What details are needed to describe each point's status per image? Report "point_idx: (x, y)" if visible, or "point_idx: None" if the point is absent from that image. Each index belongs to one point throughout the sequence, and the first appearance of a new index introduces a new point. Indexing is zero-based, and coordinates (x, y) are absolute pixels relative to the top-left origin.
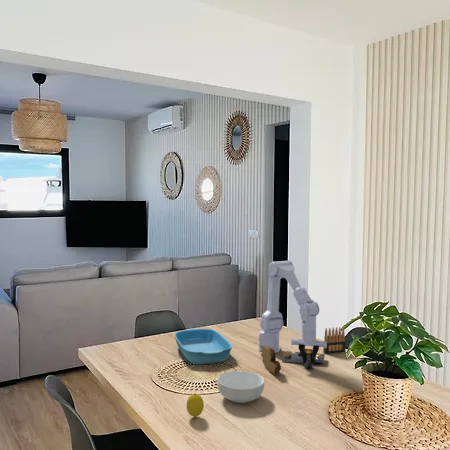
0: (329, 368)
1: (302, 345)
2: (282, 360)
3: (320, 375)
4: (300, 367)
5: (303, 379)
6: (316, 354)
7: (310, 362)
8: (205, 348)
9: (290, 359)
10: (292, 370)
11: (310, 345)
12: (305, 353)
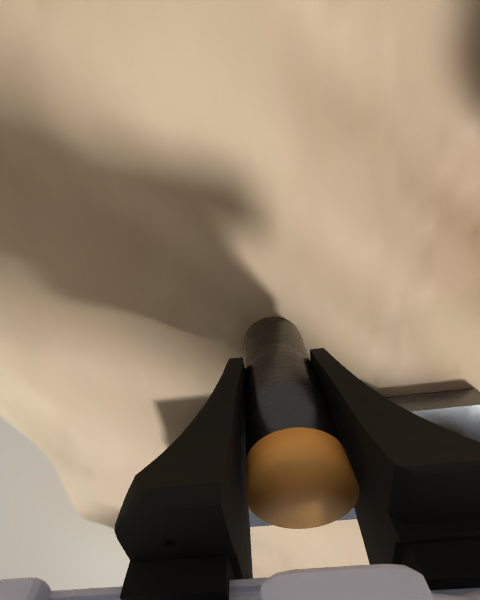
0: (139, 391)
1: (449, 562)
2: (478, 396)
3: (150, 241)
4: (333, 339)
5: (267, 56)
6: (249, 508)
7: (258, 358)
8: None
9: (424, 415)
10: (393, 257)
11: (265, 589)
12: (332, 428)
